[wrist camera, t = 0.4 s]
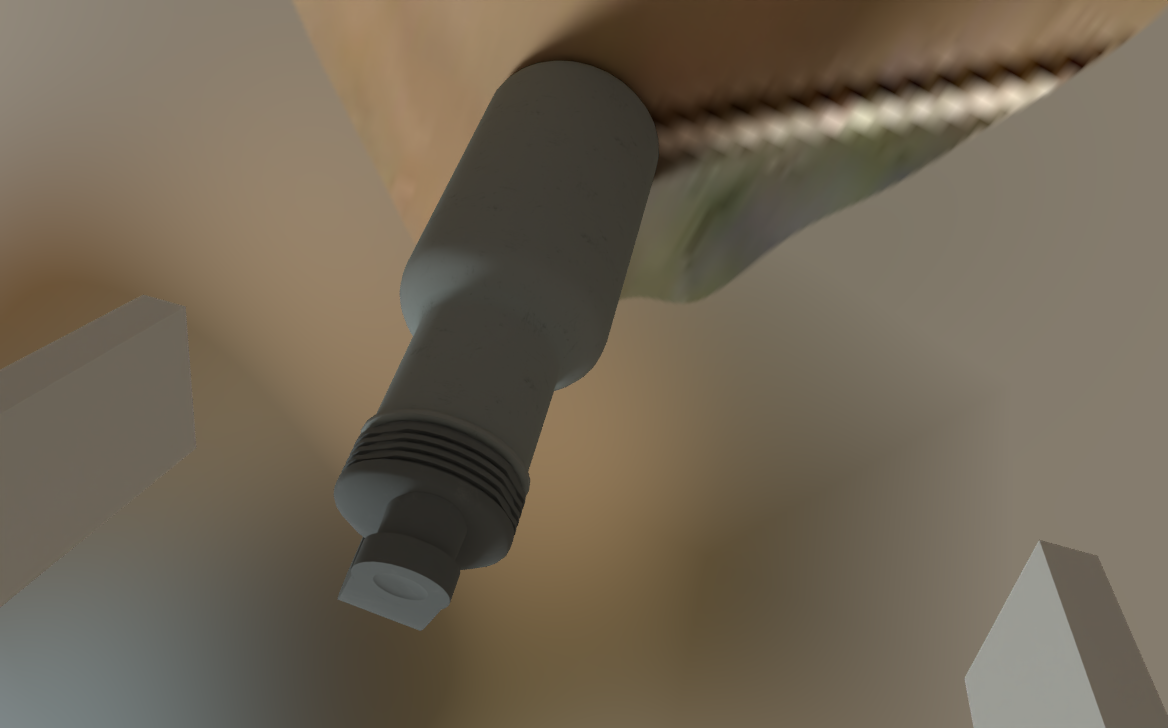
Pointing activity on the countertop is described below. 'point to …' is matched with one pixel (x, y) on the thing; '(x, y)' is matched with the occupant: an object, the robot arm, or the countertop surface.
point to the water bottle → (495, 331)
